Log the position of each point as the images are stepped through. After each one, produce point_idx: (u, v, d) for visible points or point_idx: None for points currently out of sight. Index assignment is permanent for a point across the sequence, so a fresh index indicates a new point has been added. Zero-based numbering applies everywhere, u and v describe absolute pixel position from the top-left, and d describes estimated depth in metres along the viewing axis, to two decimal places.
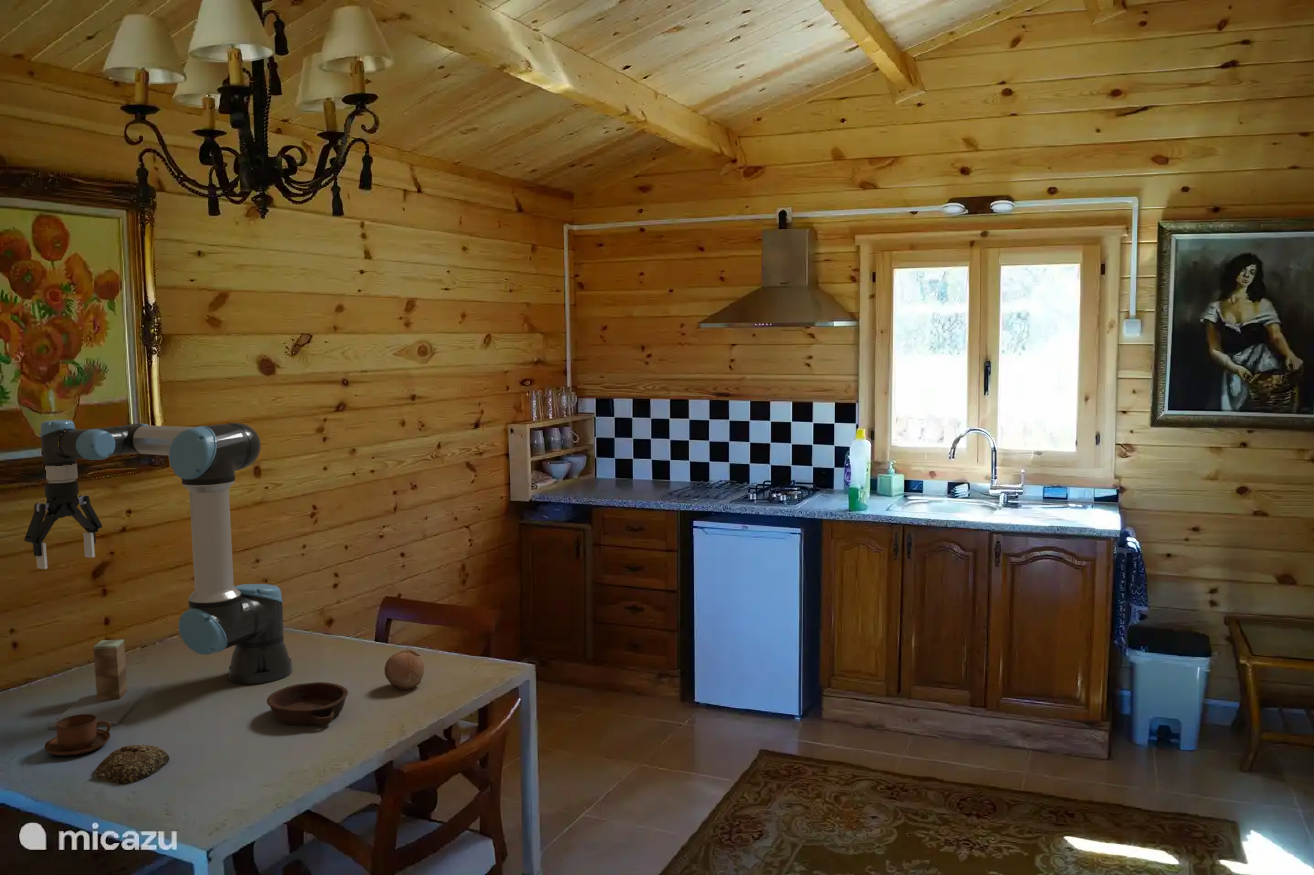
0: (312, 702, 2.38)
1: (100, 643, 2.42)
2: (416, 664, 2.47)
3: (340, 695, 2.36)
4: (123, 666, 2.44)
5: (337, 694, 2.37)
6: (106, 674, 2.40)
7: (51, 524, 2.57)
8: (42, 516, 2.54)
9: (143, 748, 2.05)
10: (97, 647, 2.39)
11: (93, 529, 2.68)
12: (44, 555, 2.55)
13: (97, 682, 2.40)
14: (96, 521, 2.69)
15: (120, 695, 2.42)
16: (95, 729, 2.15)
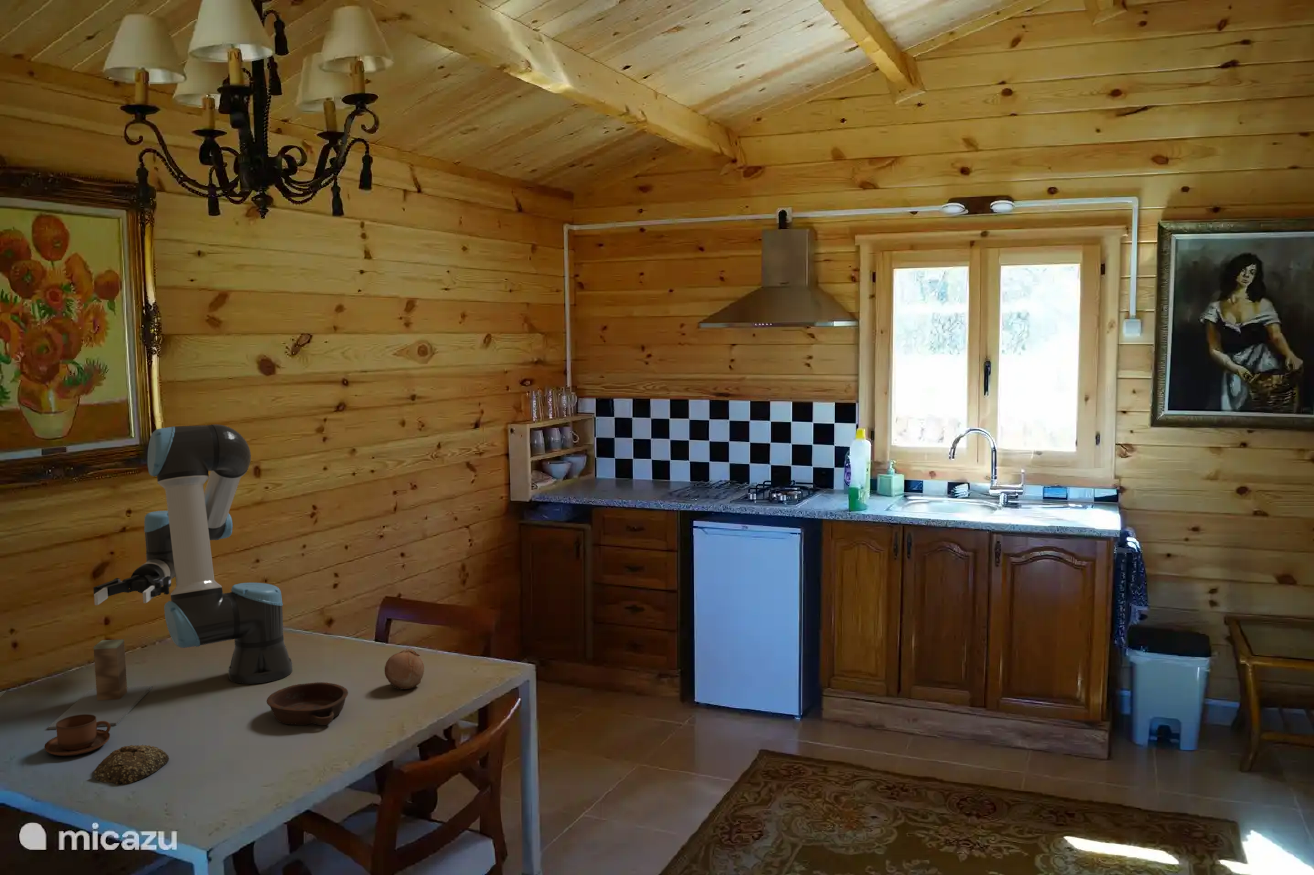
0: (312, 702, 2.38)
1: (100, 643, 2.42)
2: (416, 664, 2.47)
3: (340, 695, 2.36)
4: (123, 666, 2.44)
5: (337, 694, 2.37)
6: (106, 674, 2.40)
7: (120, 583, 2.60)
8: (112, 581, 2.62)
9: (142, 748, 2.04)
10: (97, 647, 2.39)
11: None
12: (100, 590, 2.52)
13: (97, 682, 2.40)
14: (164, 583, 2.60)
15: (120, 695, 2.42)
16: (95, 729, 2.15)
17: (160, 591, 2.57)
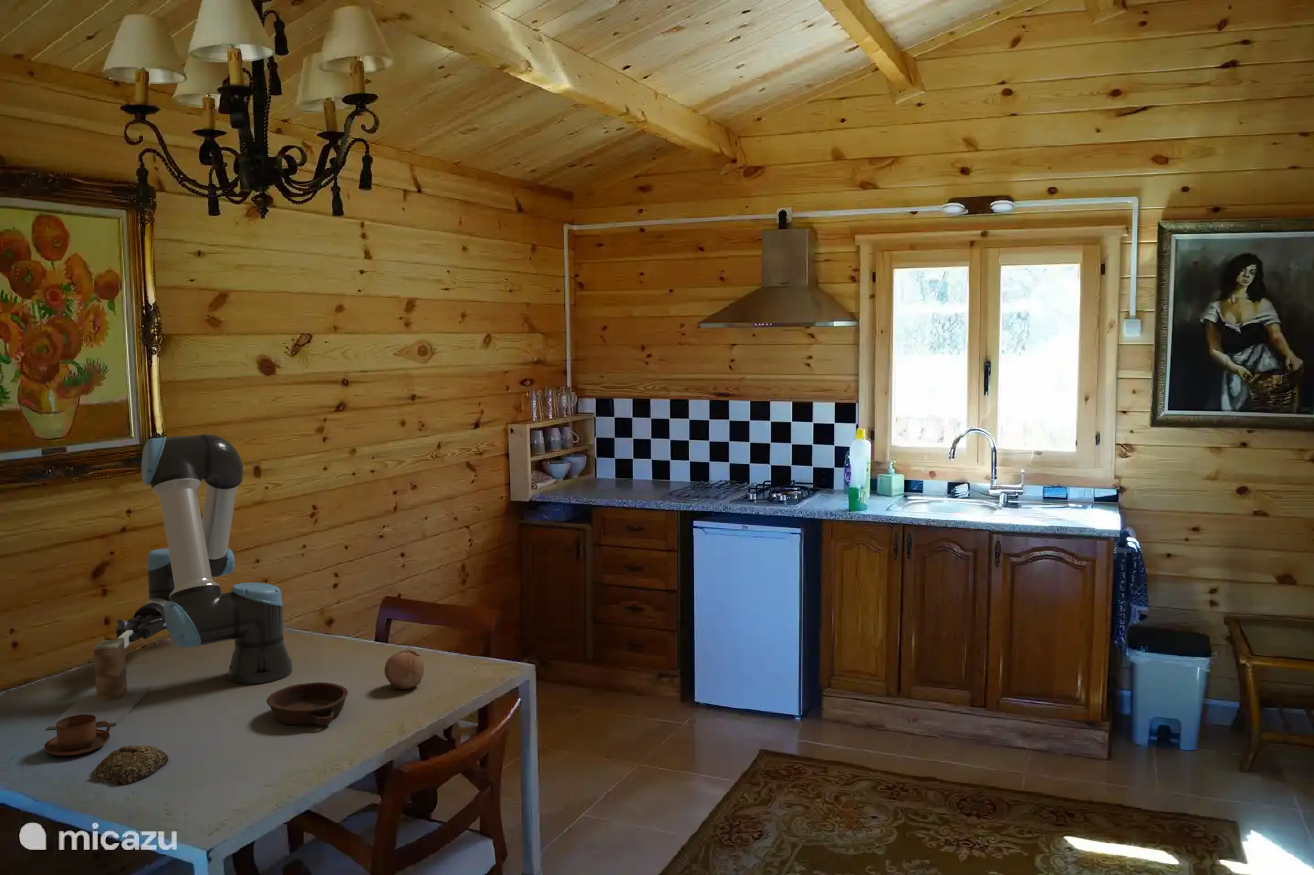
0: (312, 702, 2.38)
1: (100, 643, 2.42)
2: (416, 664, 2.47)
3: (340, 695, 2.36)
4: (123, 666, 2.44)
5: (337, 694, 2.37)
6: (106, 674, 2.40)
7: (133, 624, 2.61)
8: (121, 622, 2.62)
9: (142, 748, 2.04)
10: (97, 647, 2.39)
11: None
12: (123, 633, 2.53)
13: (97, 682, 2.40)
14: (147, 626, 2.59)
15: (120, 695, 2.42)
16: (95, 729, 2.15)
17: (139, 635, 2.56)
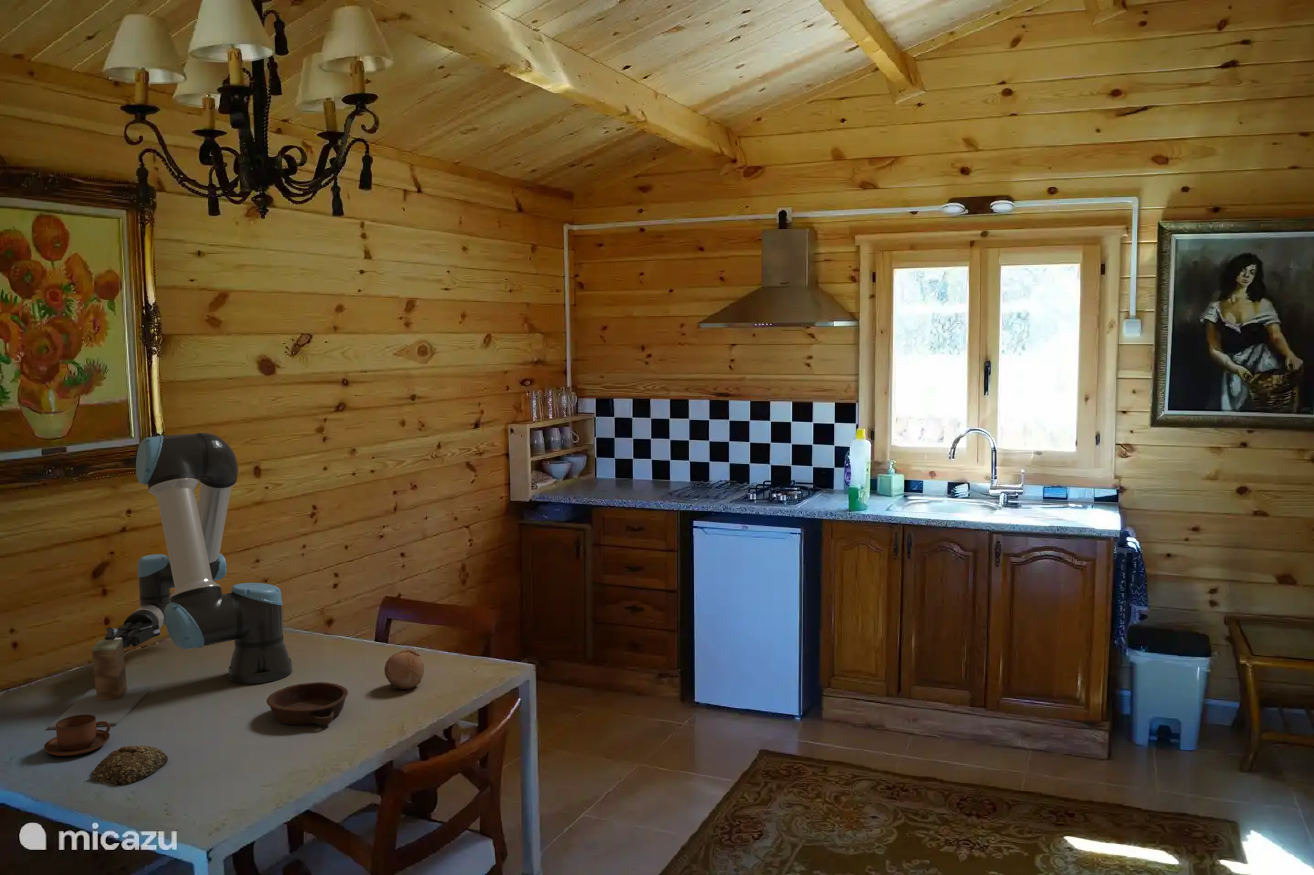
0: (312, 702, 2.38)
1: (98, 644, 2.40)
2: (416, 664, 2.47)
3: (340, 695, 2.36)
4: (122, 666, 2.43)
5: (337, 694, 2.37)
6: (105, 675, 2.40)
7: (122, 631, 2.56)
8: (111, 630, 2.57)
9: (141, 749, 2.04)
10: (95, 649, 2.38)
11: None
12: None
13: (96, 683, 2.40)
14: (137, 634, 2.54)
15: (120, 695, 2.42)
16: (94, 729, 2.15)
17: (128, 643, 2.51)
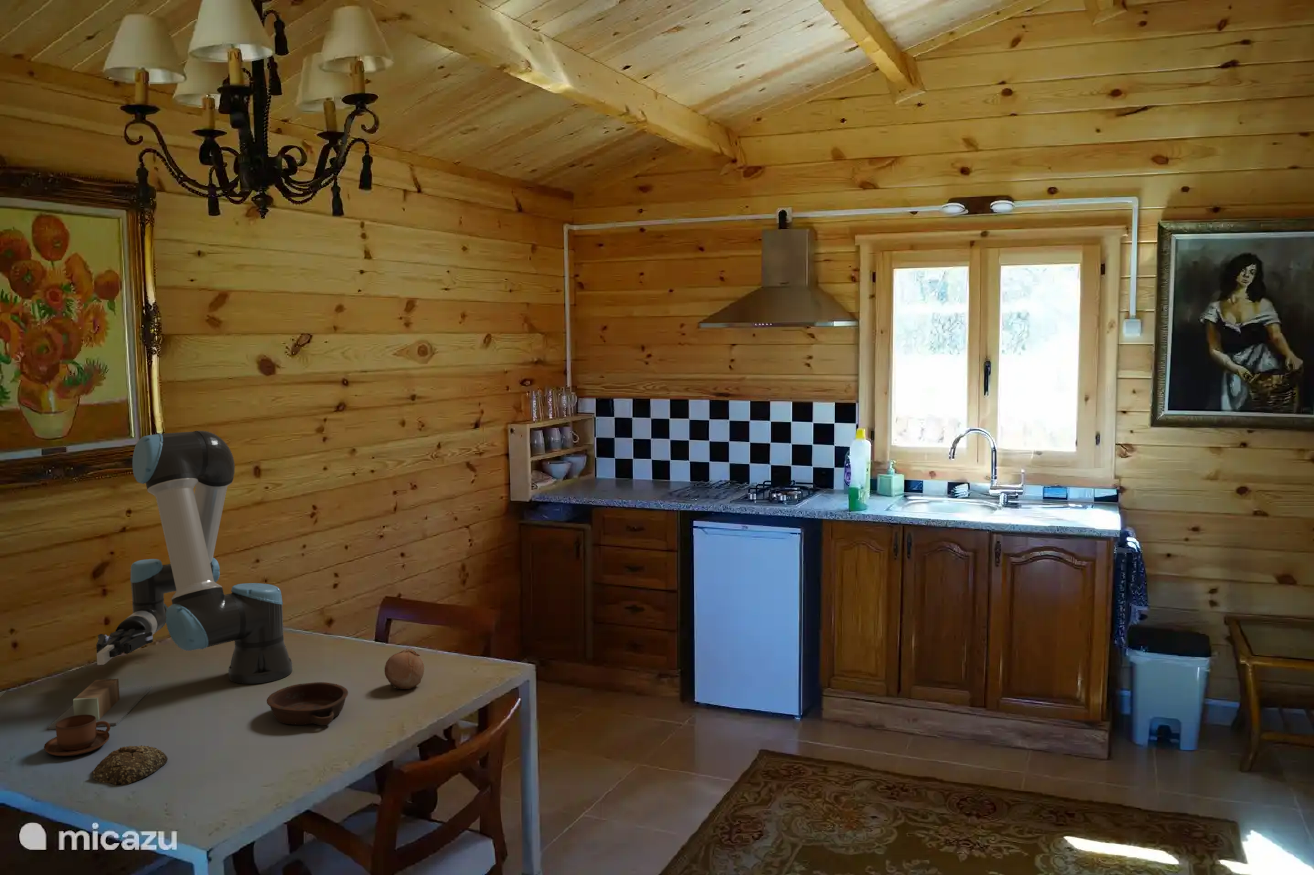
0: (312, 702, 2.38)
1: (76, 710, 2.27)
2: (416, 664, 2.47)
3: (340, 695, 2.36)
4: (108, 694, 2.34)
5: (337, 694, 2.37)
6: None
7: (114, 638, 2.50)
8: (102, 637, 2.51)
9: (141, 749, 2.04)
10: None
11: None
12: (103, 649, 2.41)
13: None
14: (129, 641, 2.48)
15: (118, 698, 2.41)
16: (94, 729, 2.15)
17: (120, 650, 2.45)
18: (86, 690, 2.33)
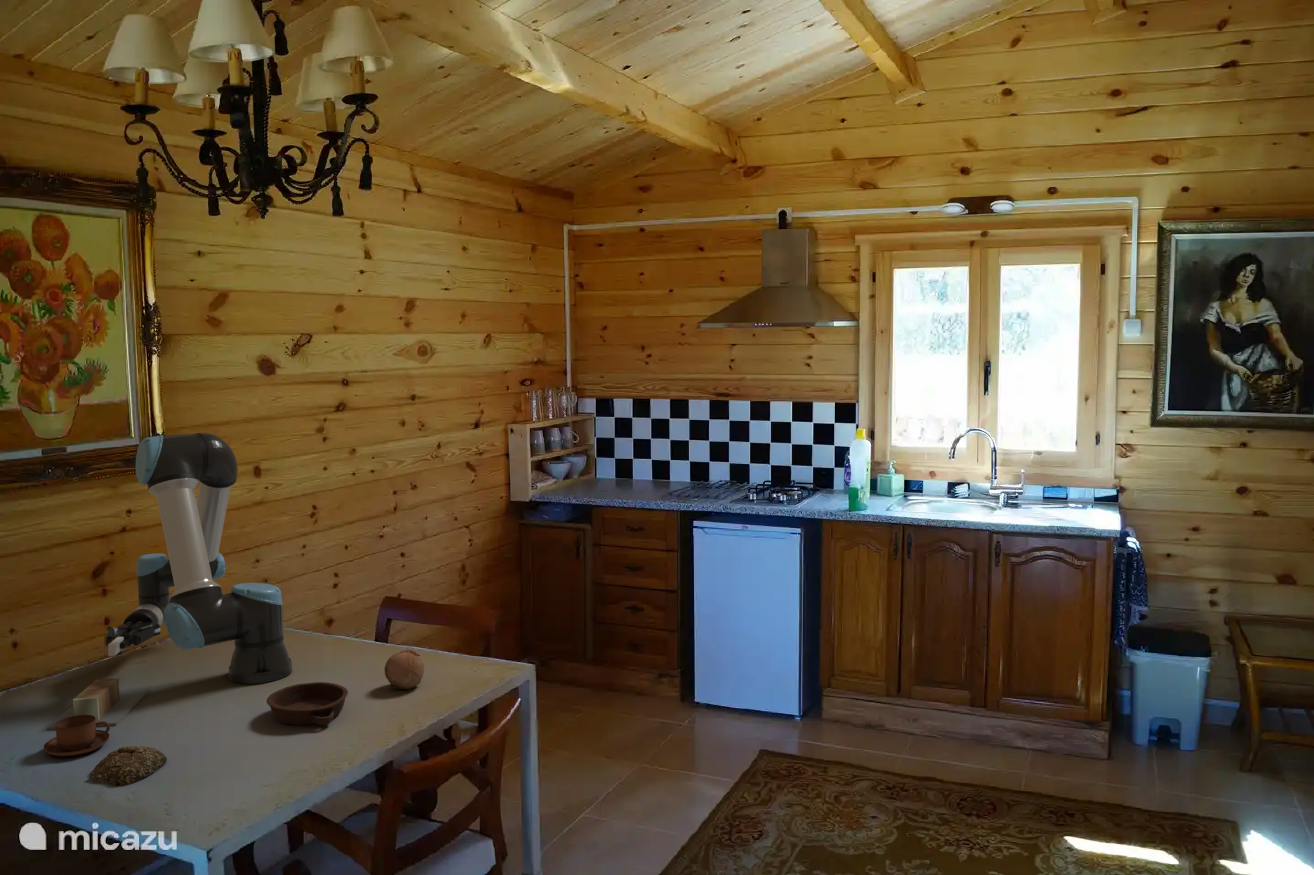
0: (312, 702, 2.38)
1: (76, 710, 2.27)
2: (416, 665, 2.47)
3: (340, 695, 2.36)
4: (108, 694, 2.34)
5: (337, 694, 2.37)
6: None
7: (123, 631, 2.56)
8: (111, 629, 2.57)
9: (140, 749, 2.04)
10: None
11: None
12: (113, 640, 2.47)
13: None
14: (138, 633, 2.54)
15: (118, 698, 2.41)
16: (94, 730, 2.14)
17: (129, 642, 2.51)
18: (86, 690, 2.33)
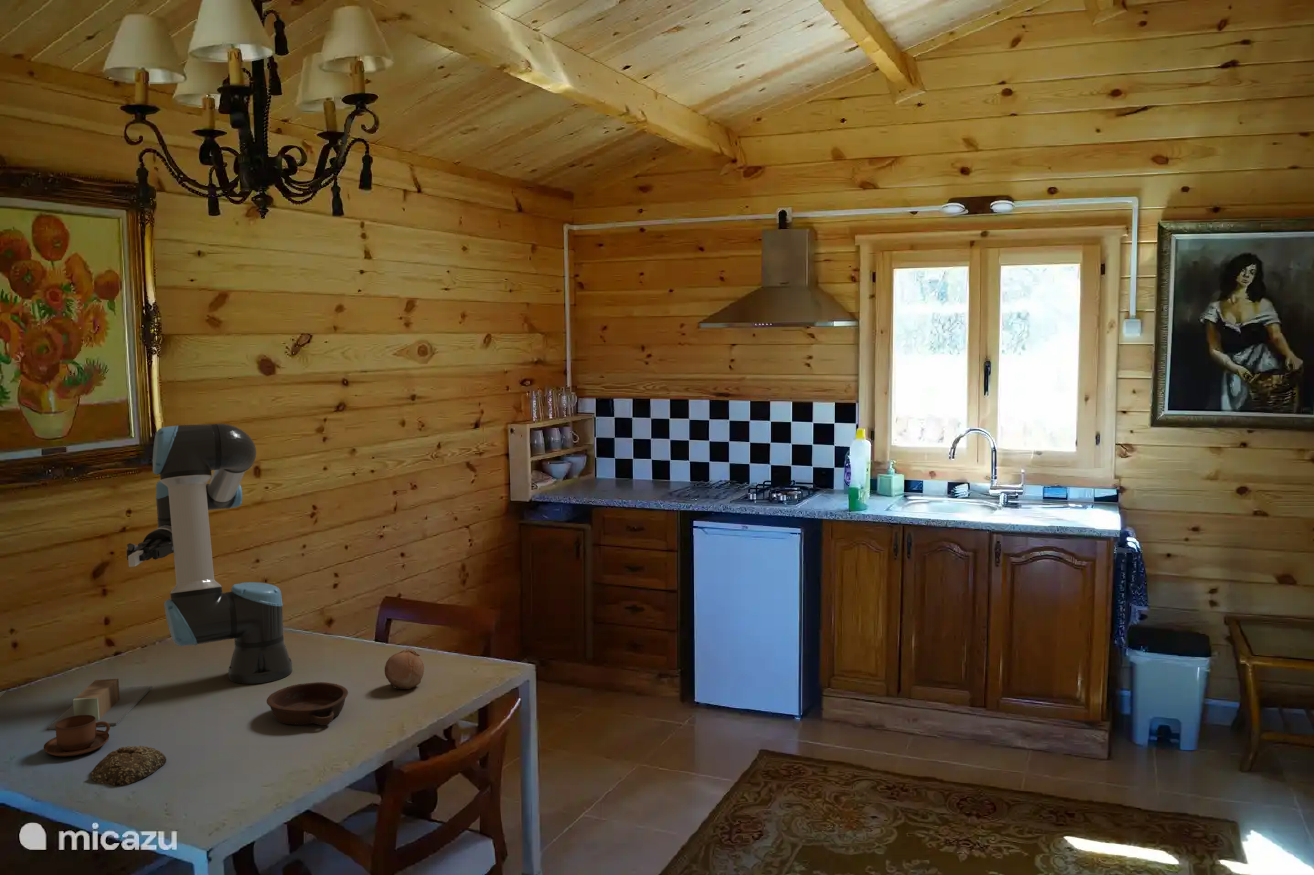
0: (312, 702, 2.38)
1: (76, 710, 2.27)
2: (416, 664, 2.47)
3: (340, 695, 2.36)
4: (108, 694, 2.34)
5: (337, 694, 2.37)
6: None
7: (143, 546, 2.66)
8: (131, 545, 2.67)
9: (140, 749, 2.04)
10: None
11: None
12: (133, 553, 2.58)
13: None
14: (157, 548, 2.64)
15: (118, 698, 2.41)
16: (94, 730, 2.14)
17: (149, 556, 2.61)
18: (86, 690, 2.33)
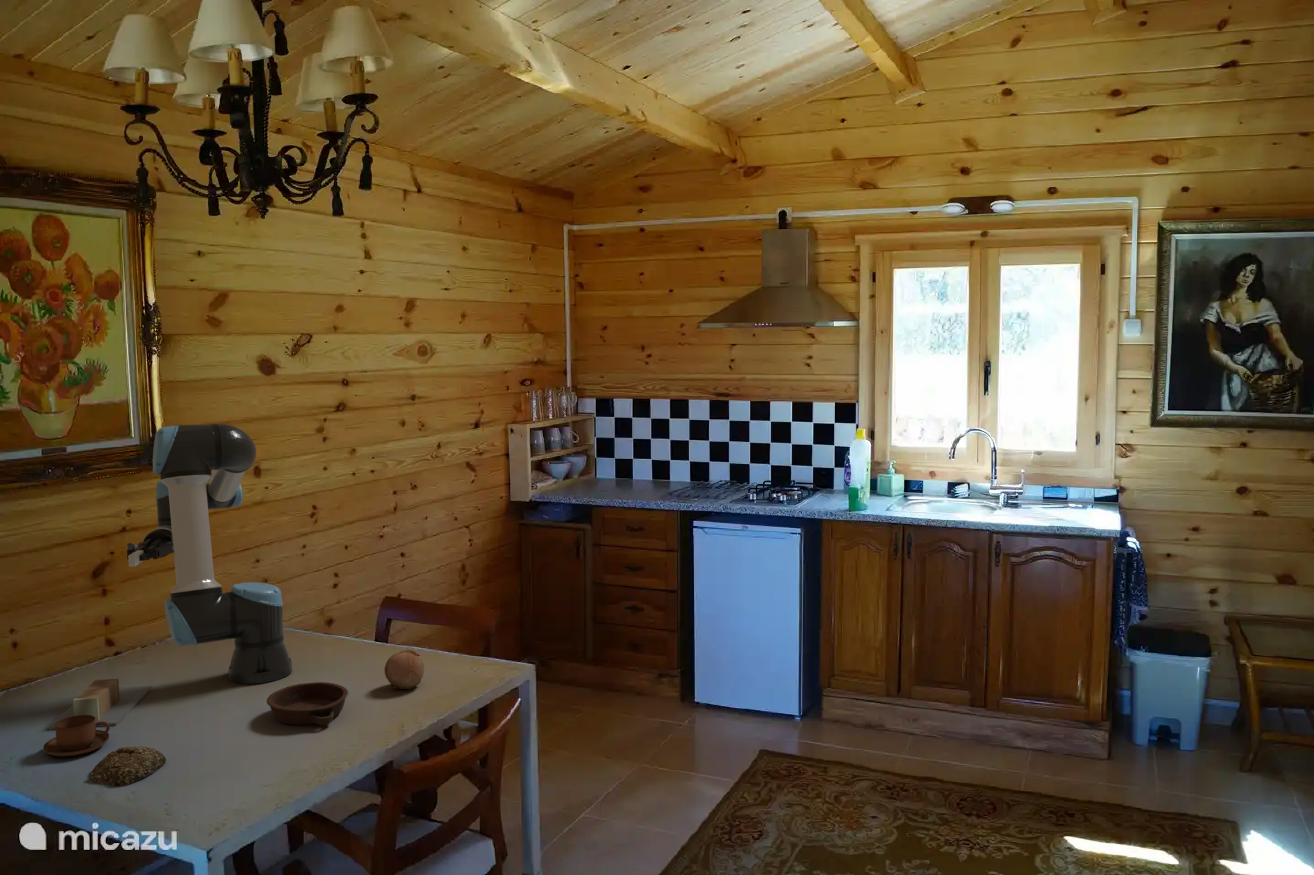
0: (312, 702, 2.38)
1: (76, 710, 2.27)
2: (416, 664, 2.47)
3: (340, 695, 2.36)
4: (108, 694, 2.34)
5: (337, 694, 2.37)
6: None
7: (143, 546, 2.66)
8: (131, 545, 2.67)
9: (139, 750, 2.04)
10: None
11: None
12: (133, 552, 2.58)
13: None
14: (157, 548, 2.64)
15: (118, 698, 2.41)
16: (94, 730, 2.14)
17: (149, 556, 2.61)
18: (86, 690, 2.33)
